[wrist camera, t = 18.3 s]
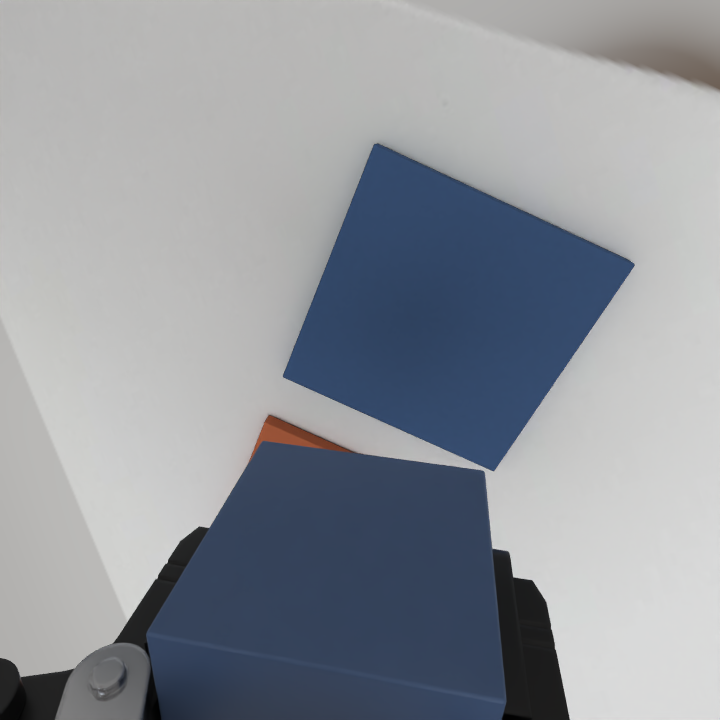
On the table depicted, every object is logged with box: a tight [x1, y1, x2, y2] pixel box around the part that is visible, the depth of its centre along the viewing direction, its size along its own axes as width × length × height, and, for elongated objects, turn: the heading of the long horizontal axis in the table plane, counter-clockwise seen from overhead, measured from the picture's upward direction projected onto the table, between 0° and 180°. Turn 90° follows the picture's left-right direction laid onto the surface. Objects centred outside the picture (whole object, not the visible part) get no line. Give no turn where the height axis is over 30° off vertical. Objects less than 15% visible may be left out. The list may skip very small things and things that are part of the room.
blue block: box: [146, 441, 507, 720], centre depth 10 cm, size 5×5×5 cm
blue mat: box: [283, 144, 635, 471], centre depth 24 cm, size 12×12×1 cm
